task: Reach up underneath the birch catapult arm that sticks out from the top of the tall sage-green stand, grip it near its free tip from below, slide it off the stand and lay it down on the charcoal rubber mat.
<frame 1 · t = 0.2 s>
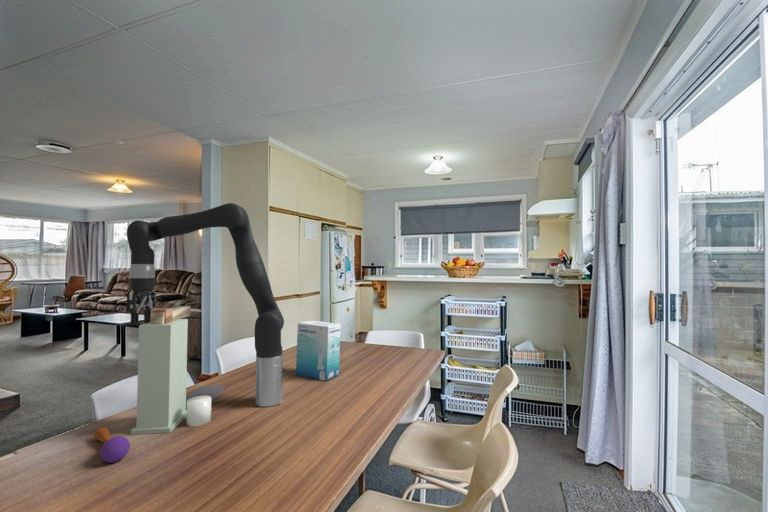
hand: (141, 322, 125), 30 cm above the table, tool pointing down, fingers open, 8 cm apart
mat: (201, 398, 133), on the table
white short cylinder: (198, 421, 113), on the table
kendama: (109, 452, 95), on the table
catapult arm: (172, 319, 118), point 32 cm above the table, touching stand
stand: (162, 423, 112), on the table
toothbrush box: (317, 376, 161), on the table
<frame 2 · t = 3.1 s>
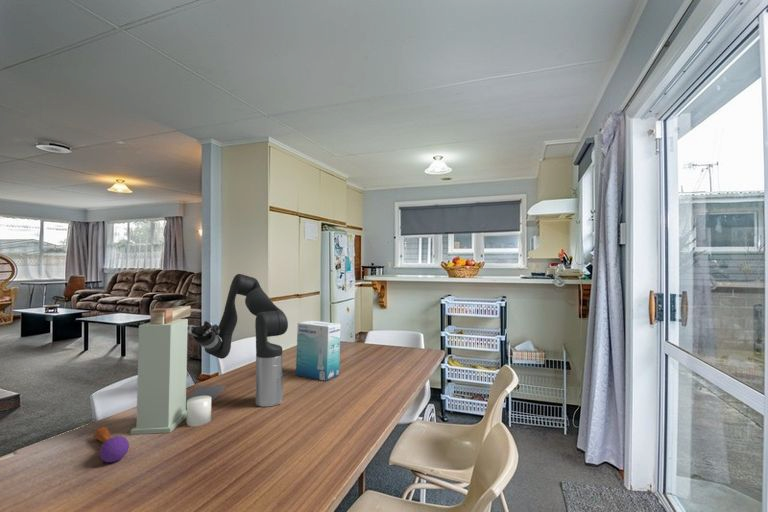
hand: (193, 323, 135), 28 cm above the table, tool pointing upward, fingers open, 8 cm apart
nothing on the table moved.
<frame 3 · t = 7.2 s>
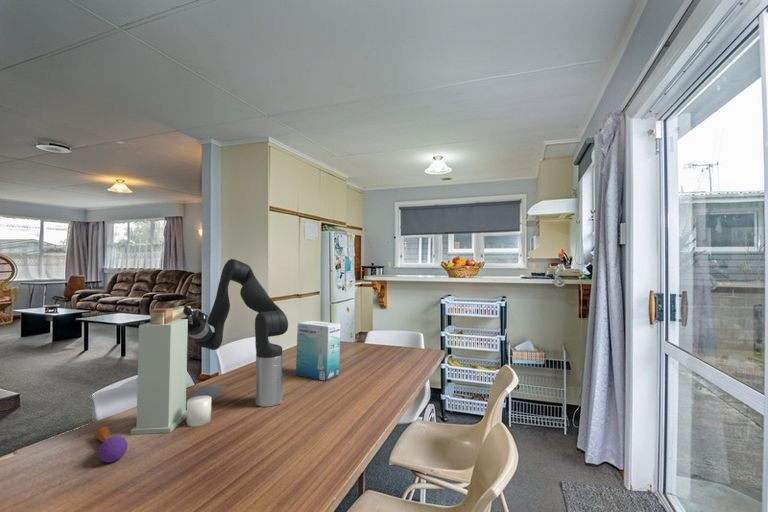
hand: (178, 308, 122), 35 cm above the table, tool pointing upward, fingers closed on catapult arm, 3 cm apart
catapult arm: (172, 319, 118), point 32 cm above the table, touching gripper, stand
everything else where it was.
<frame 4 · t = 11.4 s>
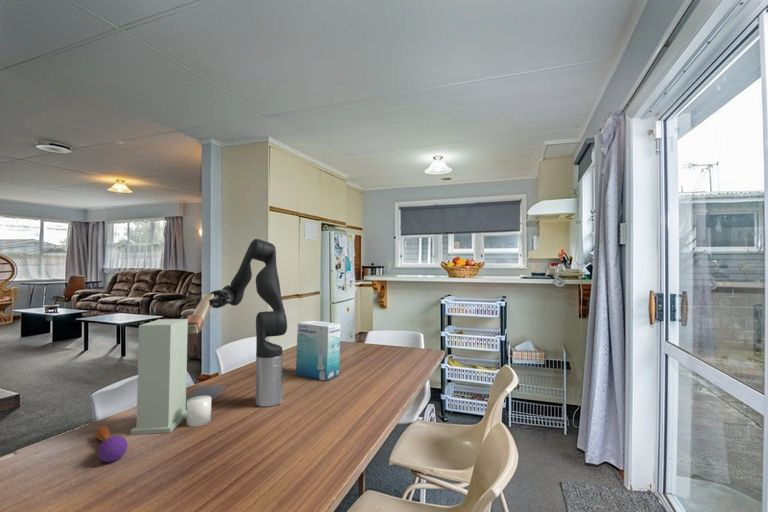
hand: (204, 302, 138), 36 cm above the table, tool horizontal, fingers closed on catapult arm, 3 cm apart
catapult arm: (202, 316, 136), point 31 cm above the table, tilted 30°, touching gripper
everything else where it was.
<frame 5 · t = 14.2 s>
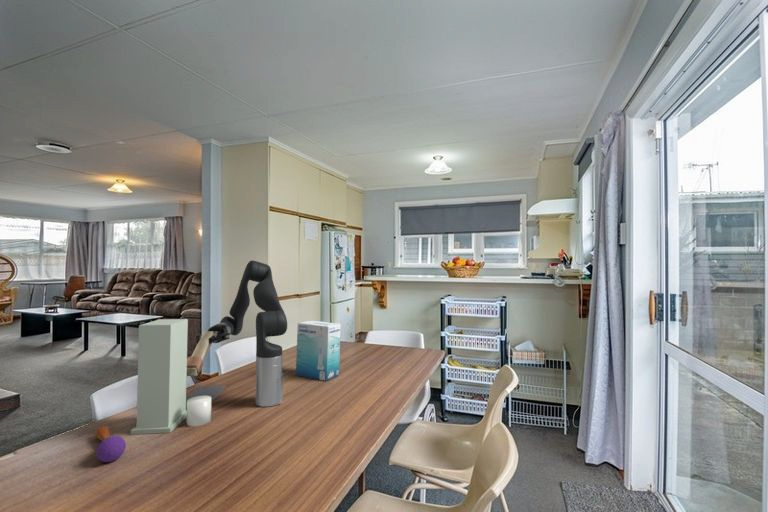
hand: (204, 341, 138), 21 cm above the table, tool horizontal, fingers closed on catapult arm, 3 cm apart
catapult arm: (201, 355, 135), point 15 cm above the table, tilted 31°, touching gripper
everything else where it was.
when the fingers open (11 cm above the table, at t = 16.7 s): catapult arm drops 5 cm, resting on mat.
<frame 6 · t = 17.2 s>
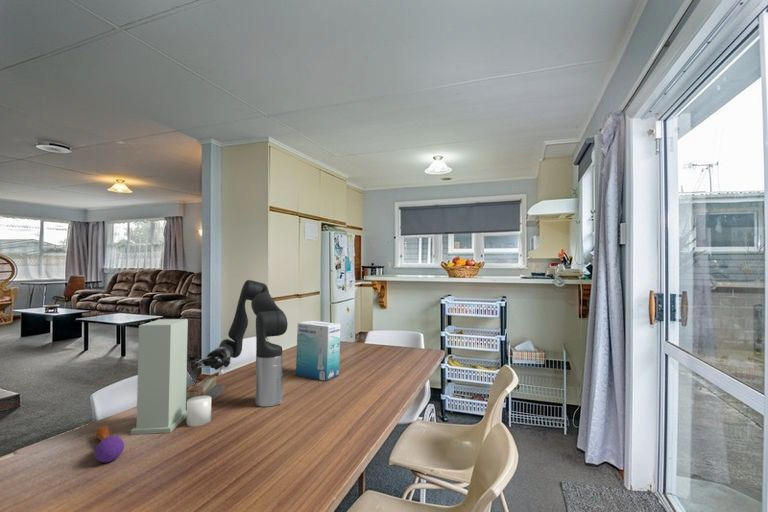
hand: (204, 367, 138), 10 cm above the table, tool horizontal, fingers open, 8 cm apart
catapult arm: (202, 393, 136), point 1 cm above the table, touching mat
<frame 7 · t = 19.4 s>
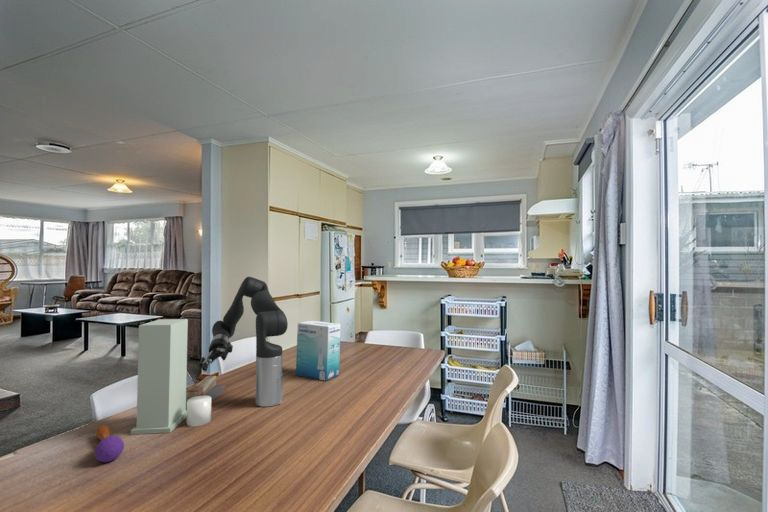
hand: (213, 364, 147), 9 cm above the table, tool tilted 75°, fingers open, 8 cm apart
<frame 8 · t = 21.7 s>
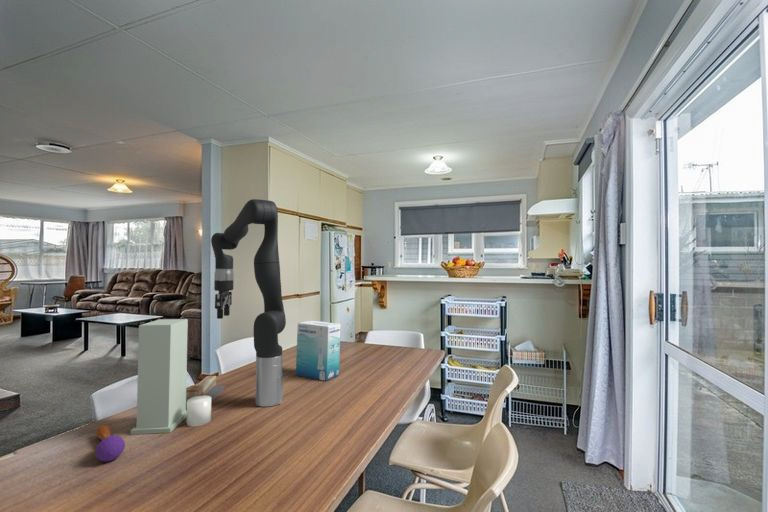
hand: (223, 317, 151), 28 cm above the table, tool pointing down, fingers open, 8 cm apart
at the end: catapult arm point 0.8 cm above the table; catapult arm inside the target area (1.3 cm from its centre), point 0.8 cm above the table; the gripper is holding nothing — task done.
